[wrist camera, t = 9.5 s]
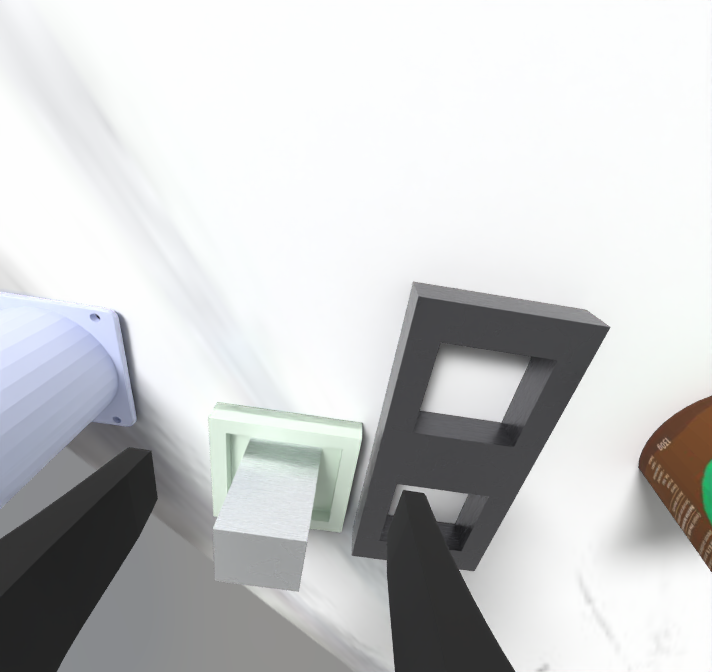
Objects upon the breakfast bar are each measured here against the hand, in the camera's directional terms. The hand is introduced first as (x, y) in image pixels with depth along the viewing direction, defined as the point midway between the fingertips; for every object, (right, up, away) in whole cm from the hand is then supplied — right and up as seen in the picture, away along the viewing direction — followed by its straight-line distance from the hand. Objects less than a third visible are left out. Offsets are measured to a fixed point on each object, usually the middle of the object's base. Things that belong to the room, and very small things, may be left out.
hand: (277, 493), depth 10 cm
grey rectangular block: (-2, -4, +13) cm, 14 cm away
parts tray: (-2, -4, +13) cm, 14 cm away
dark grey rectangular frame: (+8, -2, +12) cm, 15 cm away
